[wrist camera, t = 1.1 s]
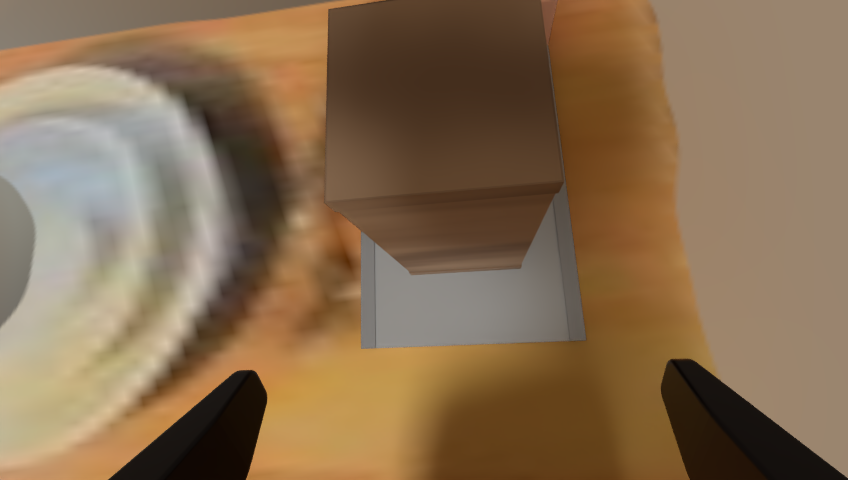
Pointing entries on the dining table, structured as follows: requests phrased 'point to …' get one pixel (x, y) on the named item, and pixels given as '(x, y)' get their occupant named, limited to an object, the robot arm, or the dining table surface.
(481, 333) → the bay
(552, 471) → the dining table surface
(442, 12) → the brown wooden block
